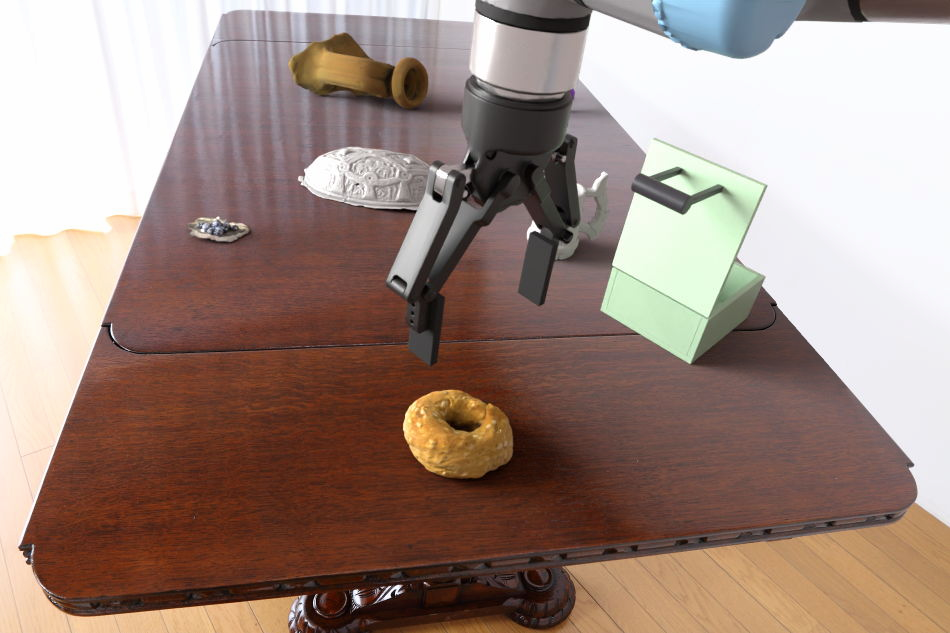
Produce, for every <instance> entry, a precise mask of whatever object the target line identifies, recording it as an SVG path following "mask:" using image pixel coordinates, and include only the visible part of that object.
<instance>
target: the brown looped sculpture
mask: <svg viewBox="0 0 950 633" xmlns="http://www.w3.org/2000/svg"><path fill="white" fill-rule="evenodd" d="M288 68H289V70H290V73H291V75H292V79H293V81H294V83H295V85H296V86H298V87H301V89H304V90H308V91H309V92H310V93H312V94H314V95H317V96H321V97H323V96H328V95H329V94H332V93H335V92H349V93H352V94H353V95H355V96H356V97H357V96H368V97H376V98H380V99H394V101H395V103H397V104H398V105H399V106H400V107H402V108H403V109H405V110H413V109H416V108H418V107H419V106H420V105H421V104H422V103H423V101H425V98H426V97H427V94H428V90H429V75H428V72H427V69H426V67H425V66H424V64H423V63H422V62H421V61H420V60H418V59H417V58H415V57H406V56H405V57H403V58H402V59H400V60H399V61H398V62H397V64H396V65H393V64H390V63H385V62H382V61H378V60H375V59H373V58H371V57H370V56H369V55H368V54H367V53H366V52H365V51H364V49H363V48H362V47H361V46H360V44H359V43H358V42H357V41H356V40H355V39H354V38H353V36H352V35H351V34H350V33H348V32H346V31H345V32H340V33H337V34H333V35H332V36H330V38H327V39H325V40H321V41H312V42H310V43H309V44H307V46H306V48H305V49H303V50H302V51H300V52H299V53H297V54H295V55H292V56H291V57H290V59H289V60H288Z"/></svg>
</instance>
